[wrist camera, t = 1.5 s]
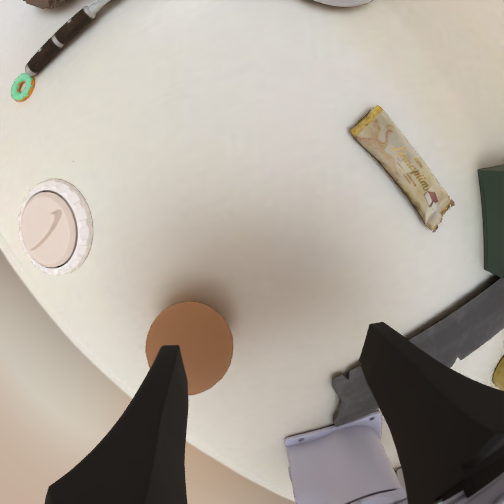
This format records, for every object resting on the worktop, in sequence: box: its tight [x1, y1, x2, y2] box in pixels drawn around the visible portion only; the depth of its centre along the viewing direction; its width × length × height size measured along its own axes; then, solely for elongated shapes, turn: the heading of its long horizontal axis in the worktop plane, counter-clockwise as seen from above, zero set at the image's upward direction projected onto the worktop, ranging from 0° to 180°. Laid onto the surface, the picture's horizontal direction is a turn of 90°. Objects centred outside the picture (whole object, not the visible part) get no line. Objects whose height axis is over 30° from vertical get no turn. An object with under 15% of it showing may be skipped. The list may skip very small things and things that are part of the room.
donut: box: [11, 73, 74, 162], centre depth 17 cm, size 2×10×1 cm, turn 34°
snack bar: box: [351, 105, 455, 232], centre depth 18 cm, size 10×2×3 cm
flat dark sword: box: [332, 278, 504, 427], centre depth 21 cm, size 7×35×2 cm, turn 117°
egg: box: [146, 302, 233, 395], centre depth 18 cm, size 5×5×7 cm
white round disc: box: [18, 179, 93, 275], centre depth 18 cm, size 7×7×2 cm
